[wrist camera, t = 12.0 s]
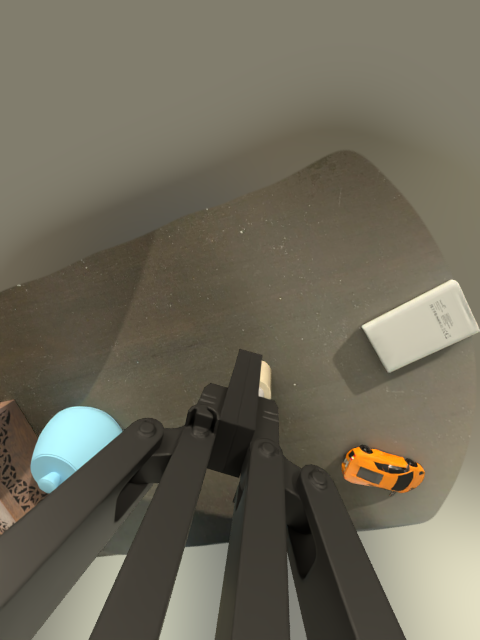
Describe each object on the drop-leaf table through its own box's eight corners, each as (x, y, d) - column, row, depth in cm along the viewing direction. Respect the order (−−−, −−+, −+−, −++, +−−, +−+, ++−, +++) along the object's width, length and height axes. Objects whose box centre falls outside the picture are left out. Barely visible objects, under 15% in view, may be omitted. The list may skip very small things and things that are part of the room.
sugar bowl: (51, 440, 53) (-6, 493, 42) (69, 387, 48) (9, 433, 37) (116, 473, 54) (77, 534, 43) (141, 424, 49) (103, 480, 38)
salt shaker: (250, 353, 41) (245, 380, 34) (277, 368, 41) (278, 398, 34) (235, 376, 43) (227, 406, 36) (261, 391, 43) (258, 423, 36)
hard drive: (359, 324, 38) (450, 278, 34) (384, 368, 39) (473, 328, 36) (363, 328, 36) (458, 281, 33) (389, 374, 38) (482, 333, 34)
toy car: (361, 497, 48) (367, 515, 45) (330, 452, 46) (334, 468, 42) (427, 477, 45) (439, 495, 42) (398, 426, 42) (408, 442, 39)
